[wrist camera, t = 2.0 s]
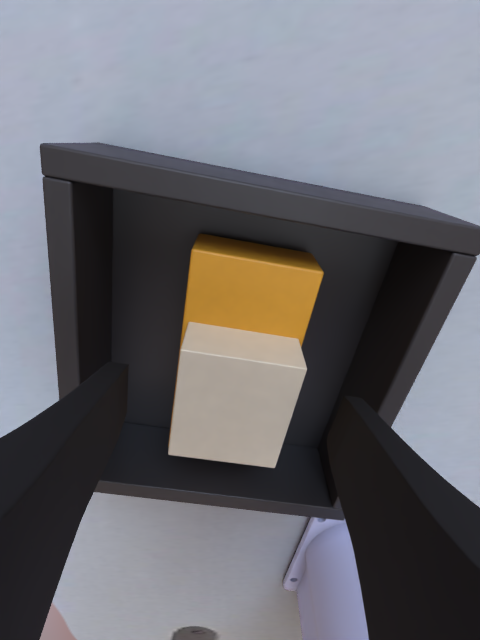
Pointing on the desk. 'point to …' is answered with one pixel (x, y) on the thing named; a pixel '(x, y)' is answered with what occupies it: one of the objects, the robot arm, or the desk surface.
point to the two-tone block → (241, 350)
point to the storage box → (170, 293)
